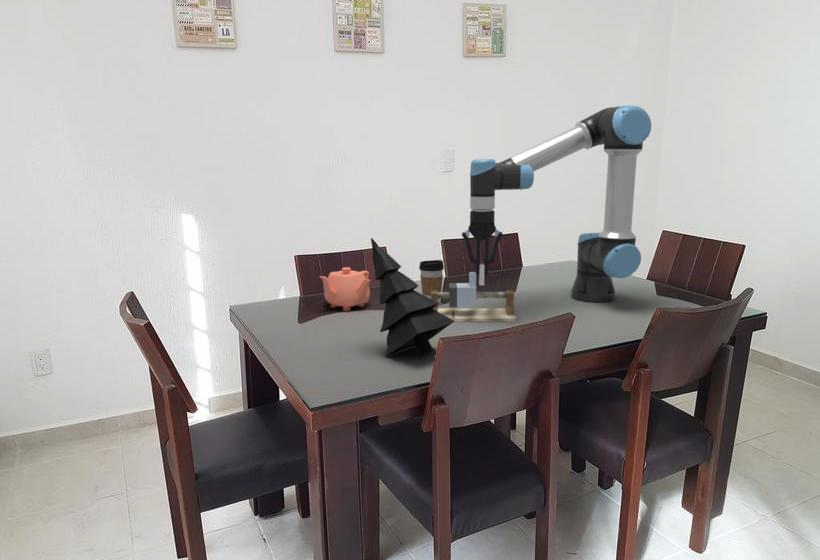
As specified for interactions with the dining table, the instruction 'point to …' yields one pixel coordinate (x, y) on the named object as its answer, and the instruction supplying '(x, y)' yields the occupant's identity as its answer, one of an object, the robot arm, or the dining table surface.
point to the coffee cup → (431, 277)
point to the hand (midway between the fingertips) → (481, 284)
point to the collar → (452, 295)
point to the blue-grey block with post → (467, 292)
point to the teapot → (347, 288)
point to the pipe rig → (479, 313)
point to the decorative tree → (405, 308)
